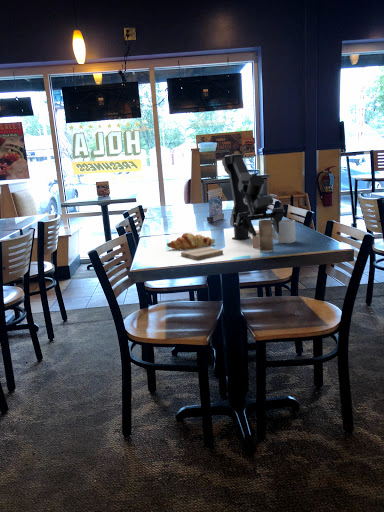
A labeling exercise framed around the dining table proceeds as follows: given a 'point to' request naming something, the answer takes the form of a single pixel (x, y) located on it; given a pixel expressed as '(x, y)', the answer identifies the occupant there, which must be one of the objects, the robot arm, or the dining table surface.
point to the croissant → (190, 242)
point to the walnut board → (201, 253)
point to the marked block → (256, 239)
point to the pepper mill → (266, 236)
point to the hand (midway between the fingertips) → (267, 234)
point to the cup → (285, 232)
